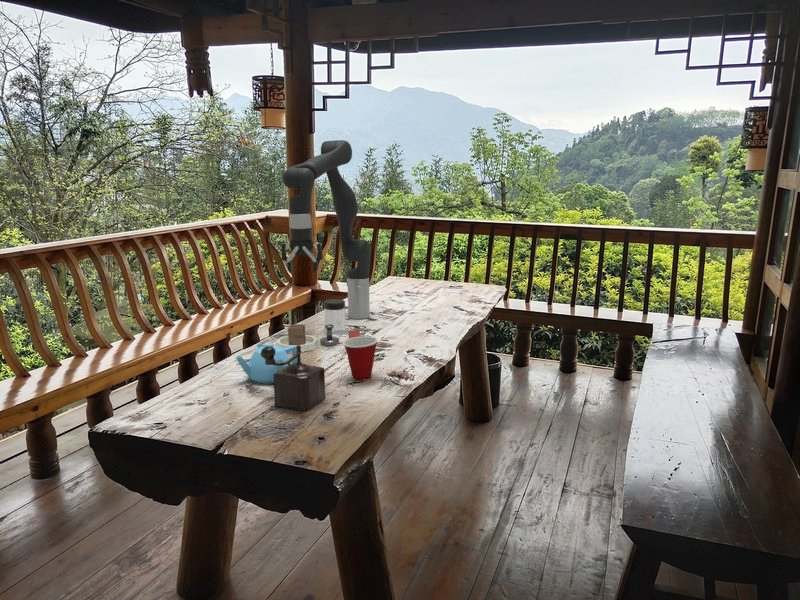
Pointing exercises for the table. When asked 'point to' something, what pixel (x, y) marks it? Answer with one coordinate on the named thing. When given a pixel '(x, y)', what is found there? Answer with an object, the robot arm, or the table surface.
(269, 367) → the teapot
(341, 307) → the jar
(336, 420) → the table surface
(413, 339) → the table surface
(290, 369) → the coffee grinder
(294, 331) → the block
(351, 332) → the crank
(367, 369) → the plastic cup
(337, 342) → the base
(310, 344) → the dish
